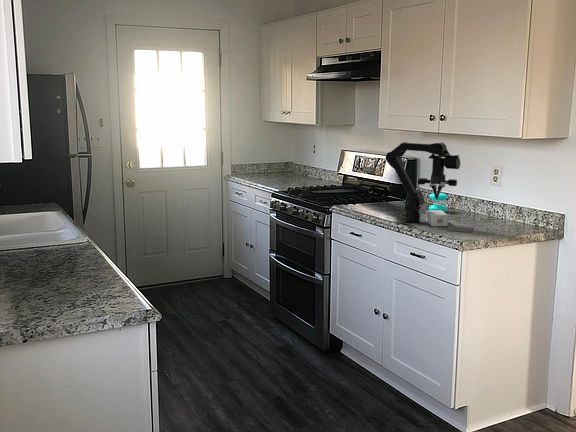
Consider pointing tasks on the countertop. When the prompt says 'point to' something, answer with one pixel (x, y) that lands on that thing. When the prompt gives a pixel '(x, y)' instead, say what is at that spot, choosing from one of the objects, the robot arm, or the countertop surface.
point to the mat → (460, 228)
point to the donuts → (440, 198)
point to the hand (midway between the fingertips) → (436, 198)
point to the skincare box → (437, 218)
